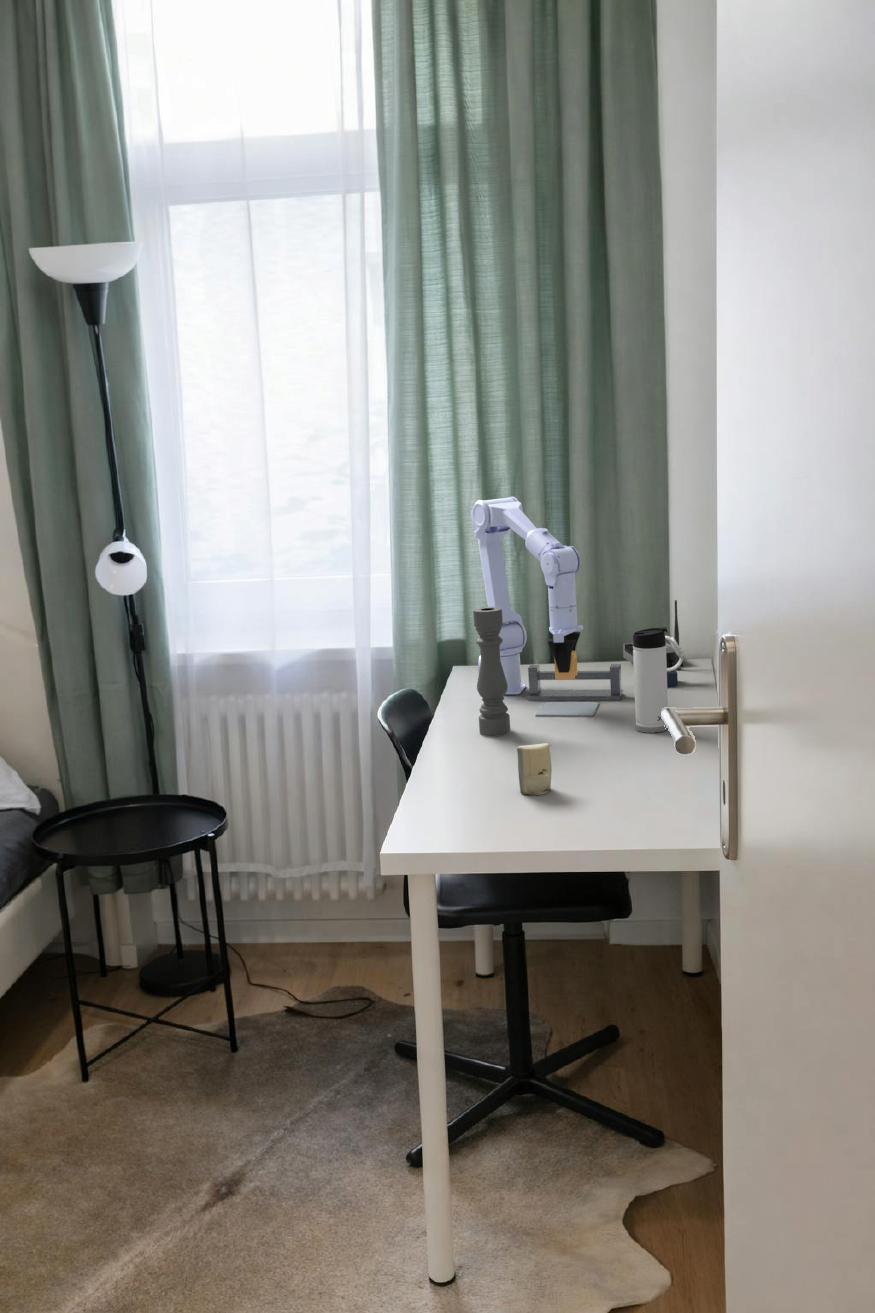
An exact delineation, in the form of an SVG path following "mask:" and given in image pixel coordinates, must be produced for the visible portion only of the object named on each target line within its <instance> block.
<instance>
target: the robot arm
mask: <svg viewBox="0 0 875 1313" xmlns="http://www.w3.org/2000/svg"><path fill="white" fill-rule="evenodd" d="M470 513H471V514H470V516H471V523H472V528H473V529H472V530H473V536H474V538H476V539H477V543H478V551H479V556H480V557H479V558H480V564H481V570H482V571H481V572H482V577H483V584H484V589H485V590H484V591H485V597H486V603H487V607H500V608H502V618H503V623H504V624H503V625H502V626H501V627H502V629H501V630H500V633H499V637H501V638H502V639H503V641H502V643H501V644H500V661H501V664H502V668H503V671H504V674H505V678H506V681H507V684H508V689H507V692H506V694H505V695H521V693H522V692H523V690H524V689H525V688H526V687H527V685H526V684H524V683H523V684H522V674H521V673H522V672H521V657H520V656H521V655H520V653H522V652H523V649H524V648H525V646H526V644H527V639H528V635H527V630H526V628H525V626H524V623H523V619H522V616H521V615H520V614H519V613H517V612H516V611H514V610H513V609H512V606H511V599H510V591H509V585H508V578H507V572H506V571H507V570H506V565H505V559H504V558H505V557H504V552H503V551H504V550H503V545H502V540H504V537H505V536H506V535H508V534H509V533H510V532H511V531H513V532H514V533H516V534H517V535H518V537H521V538H522V539H523V540H525V541H524V542H525V544H524V545H525V548H526V550H527V551H528V552H529V553H530V554H532V556H533V557H535V559H536V560H538V561H539V563H540V567H541V568H540V569H541V571H542V574H543V575H544V582H545V585H546V586H547V591H548V592H547V594H548V611H549V612H548V613H549V614H548V616H549V627H548V630H549V632H550V634H552V638H548V639H547V643H548V644H547V645H548V647H549V648H550V650H551V652H552V654H553V658H554V657H555V661H556V665H557V668H558V671H559V673H568V672H569V670H570V663H571V654H572V651H574V650H577V649H576V648H577V644H578V641H579V638H580V636H581V632H580V631H583V630H584V625H583V624H582V625H580V624H578V611H577V608H578V606H577V590H576V587H577V585H576V574H577V573H578V572H579V571H580V568H581V563H582V562H581V556H580V553H579V552H578V550H577V549H576V547H575V546H572V545H568V546H567V545H566V544H565V545H563V544H562V543H561V542H560V541H559V540H558V539H557V538H555V537H554V536H553V535H552V534H551V533H550V532H549V531H550V530H549V529H547V528H544V527H539V528H537V527H536V526H535V524H534V523H533V522H532V521H531V520H530V518H528V516H527V515H526V514H525V513H524V510H523V505H522V502H520V501H519V499H518V498H516V497H515V496H509V497H503V498H494V499H487V500H486V499H485V500H481V499H478V500H476V501H475V503H474V505H473V507H472V509H471V511H470ZM479 654H480V653H479ZM480 664H481V654H480V655H479V657H478V664H477V666H478V667H477V669H478V673H479V670H480Z"/></svg>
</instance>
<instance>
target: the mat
mask: <svg viewBox="0 0 875 1313" xmlns="http://www.w3.org/2000/svg"><path fill="white" fill-rule="evenodd" d="M599 705H600V701H597V702H596V701H589V702H588V701H587V702H586V701H583V702H582V701H580V702H579V701H577V702H576V701H575V702H574V701H571V702H570V701H558V702H557V701H552V702H551V701H543V702H542V704H541V706H540V707H539V708H538V711H536V713H535V717H594V715H595V713H596V712H597V709H598V707H599Z"/></svg>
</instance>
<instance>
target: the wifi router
mask: <svg viewBox="0 0 875 1313" xmlns="http://www.w3.org/2000/svg"><path fill="white" fill-rule="evenodd" d="M673 631H674V632H673V633H674V634H673V637H674V639H675V640H676V642H677V643H678V645H679V646H680V630H679V619H678V600H676V599H675V600H674V630H673ZM633 642H634V641H631V642H623V643H622V652H623V653H622V656H623V659H625V660H626V661H628V663H629V662H630V664H632V665H633V666H634V661H633ZM665 642H666V662H667V668H671V667H673V666H675V665H676V664H677V663H678V661H679V659H680V658H679V657H678V656H677V654H676V653H675V651H674V650H673V648H672V646H671V645H670V643H669V642H668V641H666V640H665ZM681 667H684V660H683V661H682V663H681V665H680V666H679V667H678V668H677V669H676V671H679V670H681Z"/></svg>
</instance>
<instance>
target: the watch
mask: <svg viewBox="0 0 875 1313" xmlns="http://www.w3.org/2000/svg"><path fill="white" fill-rule="evenodd" d="M665 638H666V640H667V642H668V643H670V645H671V646H672V648H673V650H674V651H675V653H676V654H677V656H678V657H679V658H680V659H679V661H678V663H677V664H676V665H675V666H673V667H671V668H667V688H671V687H672V688H675V686H679V682H678V670H676V669H677V668H678V667H679V666H681V663H682V661H683V662H684V656H685V653H684V651H683V650H682V648H681V646H680V644H679V645H678V643H677V642H676V640H675V639H674V636H669V635H665Z"/></svg>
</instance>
